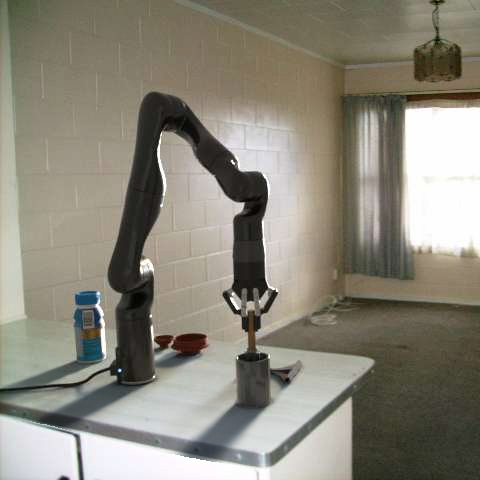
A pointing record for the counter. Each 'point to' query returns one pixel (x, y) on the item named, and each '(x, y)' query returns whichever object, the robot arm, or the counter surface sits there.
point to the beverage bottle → (89, 328)
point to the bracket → (287, 371)
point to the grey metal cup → (253, 381)
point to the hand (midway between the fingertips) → (251, 330)
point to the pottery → (184, 342)
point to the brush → (251, 339)
